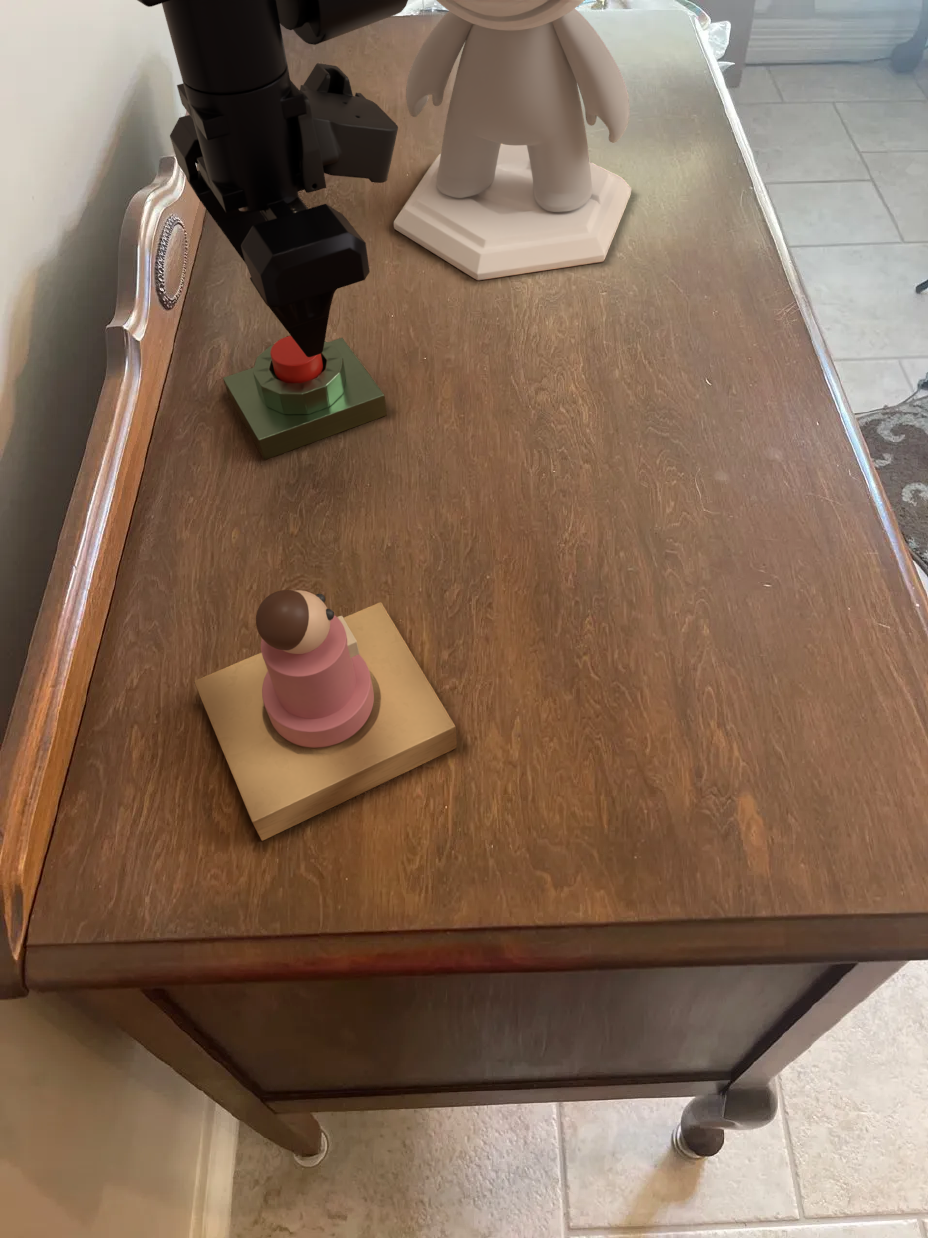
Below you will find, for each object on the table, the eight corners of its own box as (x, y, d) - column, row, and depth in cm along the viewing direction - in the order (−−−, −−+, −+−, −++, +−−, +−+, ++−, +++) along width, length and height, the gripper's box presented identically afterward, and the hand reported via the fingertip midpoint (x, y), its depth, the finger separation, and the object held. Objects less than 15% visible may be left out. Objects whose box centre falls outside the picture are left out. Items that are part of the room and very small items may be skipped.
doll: (292, 766, 50) (254, 668, 42) (252, 684, 53) (211, 579, 45) (391, 718, 51) (373, 616, 44) (347, 642, 54) (323, 534, 47)
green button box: (264, 460, 68) (252, 418, 65) (228, 397, 72) (216, 355, 69) (387, 415, 70) (381, 373, 67) (345, 357, 75) (338, 315, 71)
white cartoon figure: (371, 263, 82) (306, -273, 54) (452, 140, 95) (433, -346, 67) (588, 299, 78) (640, -261, 50) (642, 165, 91) (708, -341, 63)
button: (285, 390, 67) (280, 371, 65) (267, 363, 69) (263, 343, 67) (330, 374, 68) (327, 355, 66) (312, 348, 70) (308, 328, 68)
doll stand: (262, 841, 50) (252, 822, 48) (204, 703, 55) (193, 680, 53) (457, 748, 53) (455, 726, 51) (384, 625, 58) (380, 601, 56)
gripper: (444, 103, 47) (457, 355, 59) (311, -22, 57) (346, 217, 69) (235, 161, 44) (295, 412, 57) (134, 20, 54) (205, 260, 67)
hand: (289, 316), depth 62 cm, fingers open, 9 cm apart
